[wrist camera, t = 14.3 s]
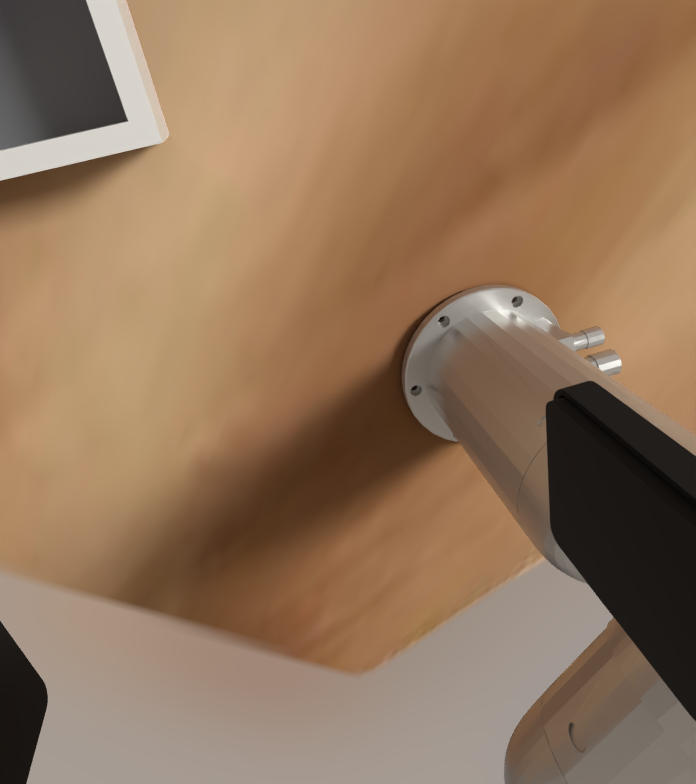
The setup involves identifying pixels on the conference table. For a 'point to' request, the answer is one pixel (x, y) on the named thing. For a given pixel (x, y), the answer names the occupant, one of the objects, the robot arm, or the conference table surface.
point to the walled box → (72, 85)
